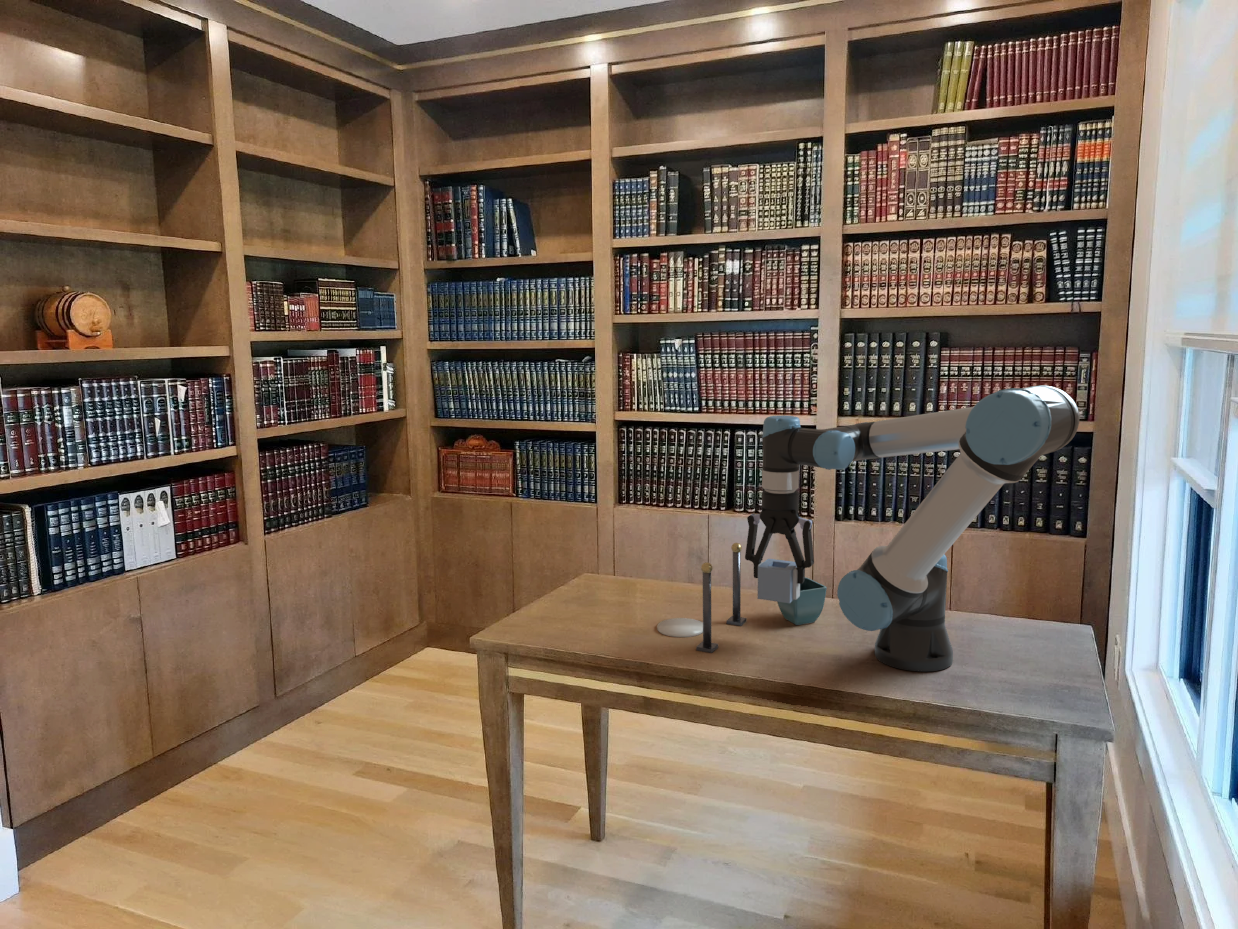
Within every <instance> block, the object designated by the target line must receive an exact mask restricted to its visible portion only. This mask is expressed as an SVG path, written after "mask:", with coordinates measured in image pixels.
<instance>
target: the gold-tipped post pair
mask: <svg viewBox="0 0 1238 929" xmlns="http://www.w3.org/2000/svg"><path fill="white" fill-rule="evenodd" d="M730 550H731V551H732V615H731V616H730V617H729V618H727V619H726V625H731V626H736V627H737V626H738V627H742V626H743V625H745V623H747V620H748V619H747V617H742V616H741V606H742V605H741V601H742V600H741V596H742V595H741V590H742V589H741V587H742V586H741V574H742V573H741V572H742V571H741V566H742V565H741V562H742V561H741V560H742V558H741V556H742V555H741V553H742V550H743V547H742V544H741V543H739V542H734V543H732V545H731V549H730ZM713 569H714V568H713V565H712V563H710V562H705V561H704V562H703V563H702V564H701V567H700V570H701V571H702V622H703V633H702V641H701V642H700V643H698V645H697V646H695V649H696V650H695V651H698V652H704V653H710V654H712V653H714V651H716V650H717V649H718V648H719V643H717V642H716V643H715V642H712V571H713Z"/></svg>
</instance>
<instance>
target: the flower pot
mask: <svg viewBox="0 0 1238 929" xmlns="http://www.w3.org/2000/svg"><path fill="white" fill-rule="evenodd" d="M827 589H828V588H827V586H826V585H823V584H822V583H819V582H817V581H816V580H813V579H811V578H809V577H805V581H804V582H803V583H802V584H800V596H799V597H798V598H797V600H793V601H792V602H791V603H784V602H777V601H776V602H777V606H778V608H779V610H780V613H781V615H782V616H783V617H784V619H785V620H787V621H788V622H791V623H792V624H794V625H795V626H801V625H806V624H813V623H815V622H816V621H817V620H818V618H820V615H821V614H822V612H823V609H824V606H825V602H826V596H827V591H828V590H827Z"/></svg>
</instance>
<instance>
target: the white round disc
mask: <svg viewBox="0 0 1238 929" xmlns="http://www.w3.org/2000/svg"><path fill="white" fill-rule="evenodd" d="M656 630H657V631H658V633H660V634H662V635H664V636H669V637H671V638H690V637H696V636H699V635H701V634H702V635H703V621H700V620H698V619H695V618H688V617H687V618H686V617H675V618H674V617H672V618H667V619H664V620H662V621H660V622H658V623H657V625H656Z"/></svg>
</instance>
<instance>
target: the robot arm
mask: <svg viewBox="0 0 1238 929" xmlns="http://www.w3.org/2000/svg"><path fill="white" fill-rule="evenodd" d="M1079 425H1080V413H1079V409H1078V406H1077V404H1076V402H1075V400H1074V399H1073V398H1072V397H1071V395H1069V394H1068V393H1067V392H1065V391H1064V390H1062V389H1060V388H1057V387H1054V386H1049V385H1045V384H1043V385H1040V384H1039V385H1034V386H1028V387H1022V388H1021V387H1020V388H1019V387H1018V388H1017V387H1016V388H1015V387H1013V388H1005V389H1000V390H997V391H995V392H993V393H991V394H989V395H987V396H984V397H983V398H982V399H980V400H979V401H978V402H977V403H976V404H974V406H970V407H963V408H956V409H950V410H943V411H937V412H928V413H922V414H917V415H909V416H904V417H903V416H902V417H895V418H890V419H889V418H888V419H881V420H877V421H869V422H867V421H866V422H859V423H855V424H850V425H849V424H848V425H845V426H844V425H842V426H836V427H831V428H823V429H821V428H806V427H802V426H801V421H800V418H799V417H798V416H793V415H771V416H768V417H766V418H765V419H764V421H763V425H762V426H763V428H762V436H761V439H762V471H761V472H762V474H761V476H762V477H761V478H762V479H761V481H762V482H761V487H762V489H763V491H762V492H761V511H760V513H757V514H755V513H751V514H750V515H748V516H747V517H746V518H747V519H746V520H747V523H748V531H747V537H746V538H747V539H746V547H745V554H744V558H745V560H746V561H749V562H751V563H753V578H754V579H758V566H760V565H761V564H762V563H763V562H764V561H763V558H764V555H765V553H766V550H767V548H768V546H769V544H770V541H771V539H772V536H773V534H774V535H775V534H780V535H782V536H783V535H784V536H785V539H786V540H787V542H788V546H789V548H790V551H791V554H792V558H793V559H794V562H795V563H796V566H797V567H796V568H794V569H793V599H794V600H797V598H798V597H799V596H800V584H802V583H803V582H804V581H805V576H806V569H807V568H811V567H812V566H813V565H814V564H815V556H814V548H813V547H814V546H813V545H814V544H813V538H812V535H813V534H812V528H813V524H814V520H813V519H812V518H808V519H806V518H803V517H801V515H800V512H799V494H800V493H799V491H798V489H799V485H800V484H799V483H800V482H799V481H800V479H799V478H800V466H808V467H813V468H818V469H819V468H820V469H821V468H822V469H825V470H828V471H829V470H830V471H831V470H839V471H840V470H845V469H847V468H848V467H849V465H851V464H852V462H857V461H863V460H864V461H865V460H872V459H880V458H888V457H898V456H908V455H917V454H918V455H919V454H927V453H935V452H944V451H945V452H946V451H954V450H959V452H960V453H959V454H958V456H957V457H956V458H955V460H954V461H953V462H952V463H951V464H950V466H949V467H948V468H947V470H946V471H945V472H944V473H943V475H942V476H941V478H940V479H939V480H938V481H937V482H936V484H935V485H934V486H933V488H931V489H930V491H929V492H928V494H927V495H926V497H925V498H924V499H923V500H922V501H921V502H920V504H919V505H918V506H917V508H916V509H915V510H914V511H913V513H912V514H911V515H910V516H909V518H908V519H907V520H906V522H904V524H903V526H901V528H900V529H899V531H898V532H897V533H896V534H895V535H894V536H893V538H892V540H891V541H890V542H889V543H888V545H878V546H876V547H875V548H874V549H873V550H872V551H871V552H870V554H869V555H868V557H866V559H865V560H864V561H863V563H862V564H861V565H860V567H859V568H857V569H855V570H854V569H853V570H851V571H849V572H847V573H846V574H845V575H844V576H842V578H841V579H840V581H839V583H838V586H837V591H836V592H837V596H836V597H837V599H838V605H839V607H840V610H841V612H842V614H843V615H844V616H845V618H846V620H848V622H850V623H851V624H852V625H854V626H855V627H857V628H858V629H861V630H863V631H867V632H874V631H875V632H876V631H879V632H878V634H877V637H876V640H875V642H874V657H875V658H876V659H877V660H878V661H879V662H880V663H883V664H885V665H887V666H890V667H891V668H895V669H900V670H903V671H904V670H905V671H912V672H925V673H926V672H936V671H941V670H945V669H948V668H949V667H951V666H952V664H953V662H954V661H953V660H954V659H953V658H954V650H953V647H952V644H951V640H950V637H949V634H948V630H947V627H946V607H947V606H946V604H947V603H946V602H947V586H948V585H947V584H948V572H949V569H948V559H947V556H946V554H947V552H948V551H949V549H950V548H951V547H952V546H953V544H955V542H956V541H957V540H958V539H959V537H960V536H961V535H962V534H963V533H964V532H965V530H966V529H967V528H968V527H969V525H971V523H972V522H973V521H974V520H975V519H976V517H978V515H979V514H980V513H981V512H982V511H983V509H984V508H985V507H986V506H987V504H988V503H989V502H990V501H991V500H992V498H993V497H994V496H995V495H996V494H997V492H999V490H1000V489H1001V488H1002V487H1003V486H1004V485H1005V484H1015V483H1018V482H1019V481H1020V480H1021V479H1023V477H1025V475H1026V474H1027V472H1028V471H1029V470H1031V468H1032V467H1033V465H1034V464H1035V463H1036V462H1037V461H1038V460H1039V459H1040V458H1041V457H1042V456H1043V455H1047V454H1050V453H1054V452H1056V451H1059V450H1061V449H1063V447H1065V446H1066V445H1068V444H1069V443H1070V442H1071V441H1072V440H1073V438H1074V437H1075V435H1076V433H1077V432H1078V429H1079ZM760 520H761V522H762V523H763V525H764V527H765V528H764V531H763V533H762V538H761V540H760V543H759V544H758V547H757V550H756V543H757V534H758V528H759V527H758V526H759V523H760ZM797 524H799V525H800V528H801V530H802V533H801V534H802V543H803V544H802V545H803V552H802V549H801V546H800V544H799V540H798V537H797V532H796V529H795V527H796V526H797ZM755 551H756V553H755ZM803 553H804V554H803Z"/></svg>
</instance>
